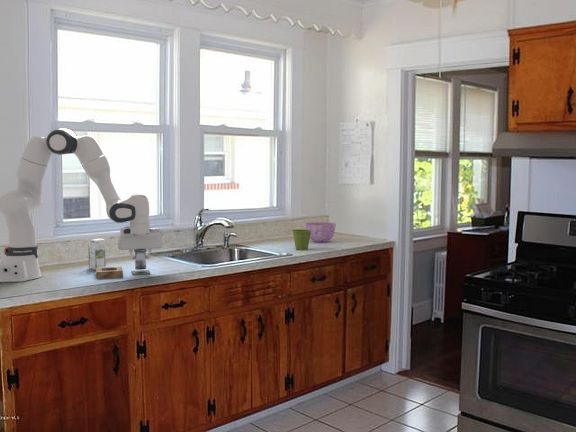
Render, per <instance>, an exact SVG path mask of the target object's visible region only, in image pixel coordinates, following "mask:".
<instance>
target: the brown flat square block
mask: <svg viewBox="0 0 576 432" xmlns="http://www.w3.org/2000/svg"><path fill="white" fill-rule="evenodd" d="M95 273H96V274H95V276H96V280H99V279H100V280H101V279H118V278H120V279H121V278H123V277H124V271H123V267H122V266H108V267H107V266H106V267H101V268H96V270H95Z"/></svg>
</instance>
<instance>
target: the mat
mask: <svg viewBox="0 0 576 432" xmlns="http://www.w3.org/2000/svg"><path fill="white" fill-rule="evenodd" d="M131 275H132V276H140V275H141V276H142V275H151V271H150V270H149V269H142V270H137V269H136V270H131Z"/></svg>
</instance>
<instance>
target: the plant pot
mask: <svg viewBox="0 0 576 432" xmlns="http://www.w3.org/2000/svg"><path fill="white" fill-rule="evenodd" d="M291 232H292V234H293V240H294V246H295V247H294V248H295V250H299V251H306V250H308V249H309V246H310V245H309V244H310V240H311V239H310V235H311V232H312V230H307V229H306V228H304V229H303V228H302V229H300V228H299V229H292V230H291Z"/></svg>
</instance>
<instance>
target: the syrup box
mask: <svg viewBox="0 0 576 432" xmlns="http://www.w3.org/2000/svg"><path fill="white" fill-rule="evenodd" d="M106 265H107V264H106V239H104V238H102V237H101V238H99V237H97V238H91V239H88V270H95V271H96V268H101V267H107V266H106Z"/></svg>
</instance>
